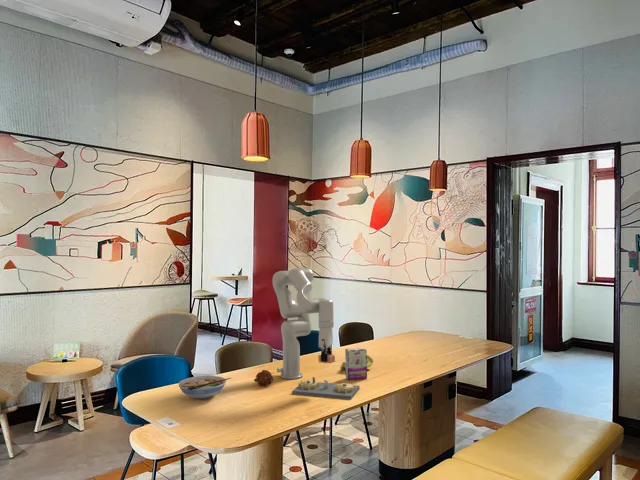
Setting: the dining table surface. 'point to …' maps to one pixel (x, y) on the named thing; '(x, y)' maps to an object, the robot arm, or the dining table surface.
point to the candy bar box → (356, 363)
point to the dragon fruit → (264, 378)
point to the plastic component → (369, 363)
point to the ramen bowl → (202, 386)
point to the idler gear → (330, 358)
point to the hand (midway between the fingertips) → (326, 359)
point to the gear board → (326, 389)
